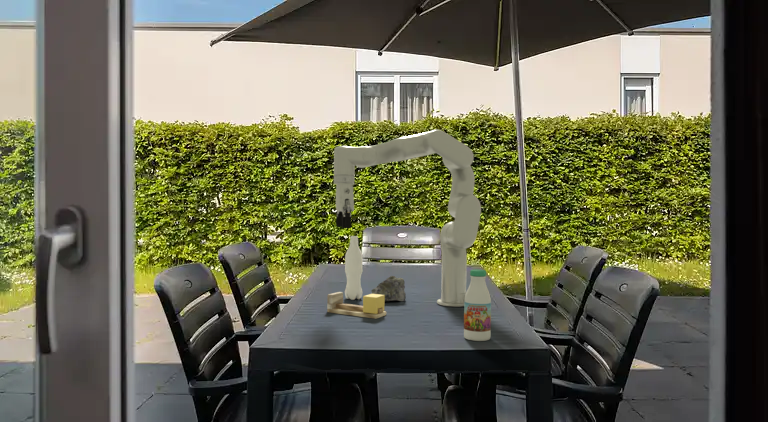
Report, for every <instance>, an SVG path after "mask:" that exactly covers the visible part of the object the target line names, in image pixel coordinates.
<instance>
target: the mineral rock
mask: <svg viewBox="0 0 768 422" xmlns="http://www.w3.org/2000/svg"><path fill="white" fill-rule="evenodd" d="M405 288H406V286H405V279H404V278H402V277H396V276H394V275H390V276H389V277H387V278H386V279H385V280H383V281H381V282H380V283H378V285H377V286H376V287H374V288H372V289H371V290H370V291H371V294H380V295H385V302H393V301H398V302H405V301H406V297H407V296H406V292H405Z"/></svg>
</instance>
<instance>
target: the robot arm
mask: <svg viewBox="0 0 768 422" xmlns="http://www.w3.org/2000/svg"><path fill="white" fill-rule="evenodd" d="M433 154H437V155H439V156H440V157H442V163H443V165H444V166H445V168H447V170H448V171H449V173H450V174H451V178H452V179H451V189H450V195H449V198H448V199H449V200H448V205H447V211H448V213H449V215H450V216H451V217H453V218H454V221H449V222H447V223H445V224H444V225H443V226H442V228H441V231H440V235H439V236H440V237H439V239H440V245H441V247H440V248H441V277H440V278H441V283H440V284H441V286H440V288H441V289H440V293H441V294H440V296H441V297H440V298H439V299H437V300H436V303H437V304H438V305H440V306H444V307H453V308H454V307H460V308H462V307H464V303H465V295H466V292H467V267H468V266H467V265H468V264H467V263H468V258H467V256H468V255H467V249H468V248H470V247H472V246H473V244H475V241H476V240H477V236H478V231H479V225H480V220H481V214H482V206H481V202H480V200H479V199H478V197H476V196H475V195H474V190H475V174H474V170H473V168H472V166H471V165H473V162H474V153H473V151H472V149H471V148H470V147H469V146H468V145H466V144H465V143H464V142H461V141H459V140H458V139H456V138H455V137H453V136H452V135H450V134H449V133H446V132H445V131H443V130H441V129H432V130H430V131H425V132H422V133H418V134H417V133H416V134H413V135H412V134H411V135H408V136H401V137H398V138H394V139H392V140H389V141H386V142H383V143H382V142H381V143H378V144H375V145H369V146H368V145H365V146H364V145H363V146H362V145H361V146H347V145H340V146H336V147H335V148H334V149H333V185H336V187H335V209H336V227H337V228H339V227H341V228H342V229H352V212H354V210H355V200H354V199H355V196H354V194H355V193H354V185H355V174H356V172H355V170H356V169H355V166H356V167H357V168H359V169H360V168H361V169H364V168H368V167H373V166H377V165H381V164H387V163H395V162H402V161H407V160H411V159H415V158H419V157H426V156H430V155H433Z"/></svg>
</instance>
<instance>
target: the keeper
mask: <svg viewBox="0 0 768 422" xmlns="http://www.w3.org/2000/svg"><path fill="white" fill-rule="evenodd" d="M385 302H386V301H385V295H380V294H372V293H369V294H366V295H362V306H363V312H365V313H373V314H377V313H378V309H379V308H383V311H385V305H386V303H385Z"/></svg>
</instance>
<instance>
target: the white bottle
mask: <svg viewBox="0 0 768 422" xmlns="http://www.w3.org/2000/svg"><path fill="white" fill-rule="evenodd" d="M344 259H345V261H344V265H345V266H344V273H345V276H346V286H345V290H344V296H345V299H347V300H352V301H354V300H355V299H357V300H361V298H363V294H364V293H363V289H362V285H361V283H362V282H361V281H362V280H361V279H362V274H363V270H364V269H363V260H364V256H363V252H362V250H361V249H360V247H359V236H357V235H350V240H349V246H348V249H347V250H346V253H345V255H344Z"/></svg>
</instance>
